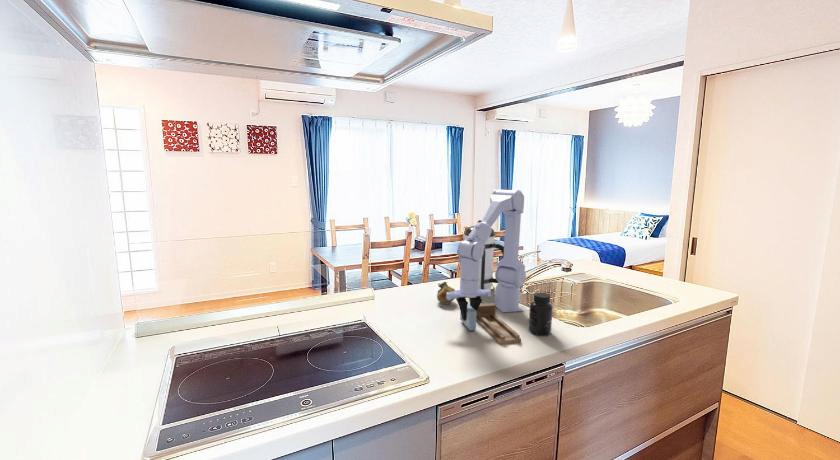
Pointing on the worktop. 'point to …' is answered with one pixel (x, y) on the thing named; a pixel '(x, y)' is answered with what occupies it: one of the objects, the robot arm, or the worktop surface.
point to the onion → (444, 293)
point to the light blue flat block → (470, 318)
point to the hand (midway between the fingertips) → (467, 319)
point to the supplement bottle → (540, 314)
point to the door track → (495, 325)
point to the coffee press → (486, 261)
